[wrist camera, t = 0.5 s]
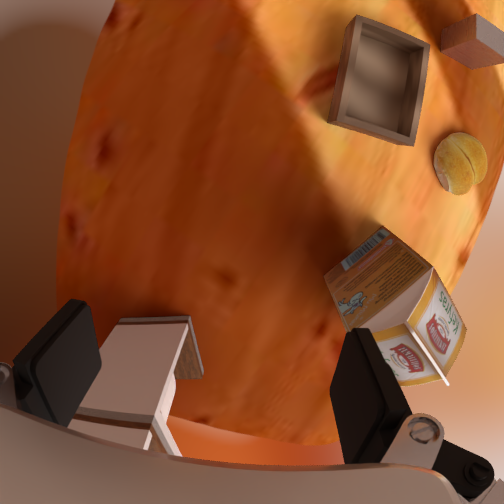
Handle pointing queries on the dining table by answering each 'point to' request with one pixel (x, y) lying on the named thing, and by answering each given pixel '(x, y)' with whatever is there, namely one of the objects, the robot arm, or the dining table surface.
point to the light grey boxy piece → (139, 382)
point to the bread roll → (460, 163)
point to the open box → (380, 82)
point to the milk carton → (399, 307)
